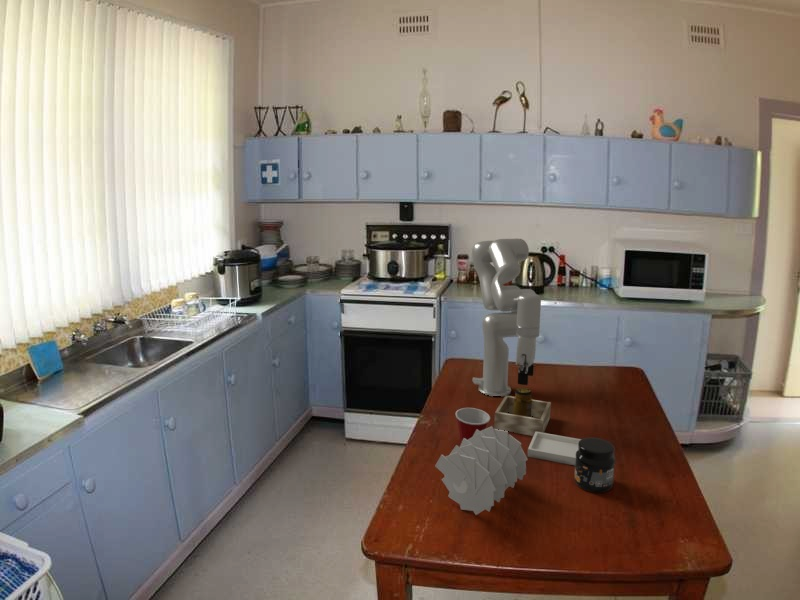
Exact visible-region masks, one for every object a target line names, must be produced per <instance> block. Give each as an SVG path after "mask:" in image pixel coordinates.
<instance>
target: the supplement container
mask: <svg viewBox="0 0 800 600" xmlns="http://www.w3.org/2000/svg"><path fill="white" fill-rule="evenodd" d="M580 439H581V438H580ZM615 448H616V447H615V446H614V445H613V444H612V443H611V442H610V441H608V440H605V439H602V438H599V437H584V438H582V439H581V440H580V441H579V443H578V450H577V452H576V462H575V466H574V475H573V481H574V483H575V484H576V486H578V487H579V488H580V489H583V490H585V491H587V492H590V493H597V494H598V493H605V492H608V491H610V490H611V489H612V488H613V486H614V476H615V475H614V473H615V465H616V457H615V451H616V450H615Z"/></svg>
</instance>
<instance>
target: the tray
mask: <svg viewBox="0 0 800 600" xmlns="http://www.w3.org/2000/svg"><path fill="white" fill-rule="evenodd" d="M580 440H581V438H577V437H576V438H575V437H570V436H563V435H558V434H551V433H547V432H544V433H542V432H535V434H534V436H532V439H531V441H530V443H529V446H528V447H527V458H534V459H538V460H544V461H549V462H554V463H559V464H564V465H565V464H566V465H569V466H570V465H571V466H574V467H575V462H576V452H577V450H578V443H579V441H580Z"/></svg>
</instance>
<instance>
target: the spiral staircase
mask: <svg viewBox="0 0 800 600" xmlns="http://www.w3.org/2000/svg"><path fill="white" fill-rule="evenodd" d="M527 461H528V456H527V455H526V453H525V452H524V448H522V442H521V441H519V440H518V439H516V438H515V437H514V436H512V435H511V434H509V432H508V431H504V430H498V429H494V426H493V425H491V426H489V427H486V428H485V429H484V430H482V431H479V430H478V429H477V430H476V431H475V433H474V435H473V437H471V438H470V439H468V440H467V439H465V438H463V440H462V443H461V442H460V445H457V444H456V445H455V446H454V448H453V449H452V450H451V452H450V453H449V455H446V456H445V455H444V454H440V457H439V458H438V460H437V462H436V464H435V466H434V467H435V468H436V469H438V470H439V471H440V473H442V474H443V476H444V477H443V478H441V482H442V483H443V484H444V486H445V487H446V489H447V490H448V492H449V493H448V496H447V497H448V498H450V499H451V500H452V501H454V502H455V503H457V504H458V505H459V507H460V510H463V511H472V512H473V513H474V514H475V516H477V515H479V514H480V513H482V512H483V511H485V510H486V511H488V512H490V511H491V509H492V507H494V506H495V501H496V502H497V503H500V502H501V499H502V498H503V499H504V498H505V491H506V490H507V489H508V488H509V487H510V488H513V489H514V488H515V483H517V482H518V479H519V480H520V481H523V479H524V475H526V474H527V466H526V465H527V463H526V462H527Z"/></svg>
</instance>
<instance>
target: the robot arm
mask: <svg viewBox="0 0 800 600" xmlns="http://www.w3.org/2000/svg"><path fill="white" fill-rule="evenodd" d="M529 251H530V249H529V246H528V243H527V241H525V240H524V239H522V238H499V239H495V240H483V241H478V242H476V243H475V244H473V246H472V248H471V259H472V264H473V267H474V269H475V272H476V273H477V277H478V279H479V285H480V293H481V299H482V304H483V307H484V309H485V310H487V311H491V312H492V313H487V314H486V315H485V316H484V317H483V319H482V322H481V323H482V331H483V365H482V366H483V367H482V377H476V376H475V377H474V376H473V377H472V382H473V384H474V385H478V391H480V392H481V394H482V393H483V394H482V395H484V394H485V395H484V396H487V395H489V396H488V397H493V396H501V397H505V396H509V395H510V394H511V392H512V389H511V387H510V385H508V376H509V358H510V357H509V354H510V353H509V351H510V350H509V346H508V344H507V343H506V341H504V338H517V344H516V345H517V346H516V355H515V356H516V358H515V366H519V367H518V371H517V372H518V373H517V384H518V385H521V386H528V385H529V376H530V377H532V376H533V375H534V367H535V366H534V362H535V358H536V349H537V347H536V346H537V338H538V337H540V327H541V306H542V299H541V296H540V295H539V294H537V293H536V292H535V290H533V289H531V288H530V289H529V288H520V287H519V286H517V285H505V284H507V283H509V282H511V281H513V280H516V278H517V277H519V275H520V273H521V265H520V263H519V262H524V261H525V260H527V259H528V257H529V255H530V252H529ZM491 263H492V264H491ZM493 311H500V312H493ZM480 392H479V393H480Z"/></svg>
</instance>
